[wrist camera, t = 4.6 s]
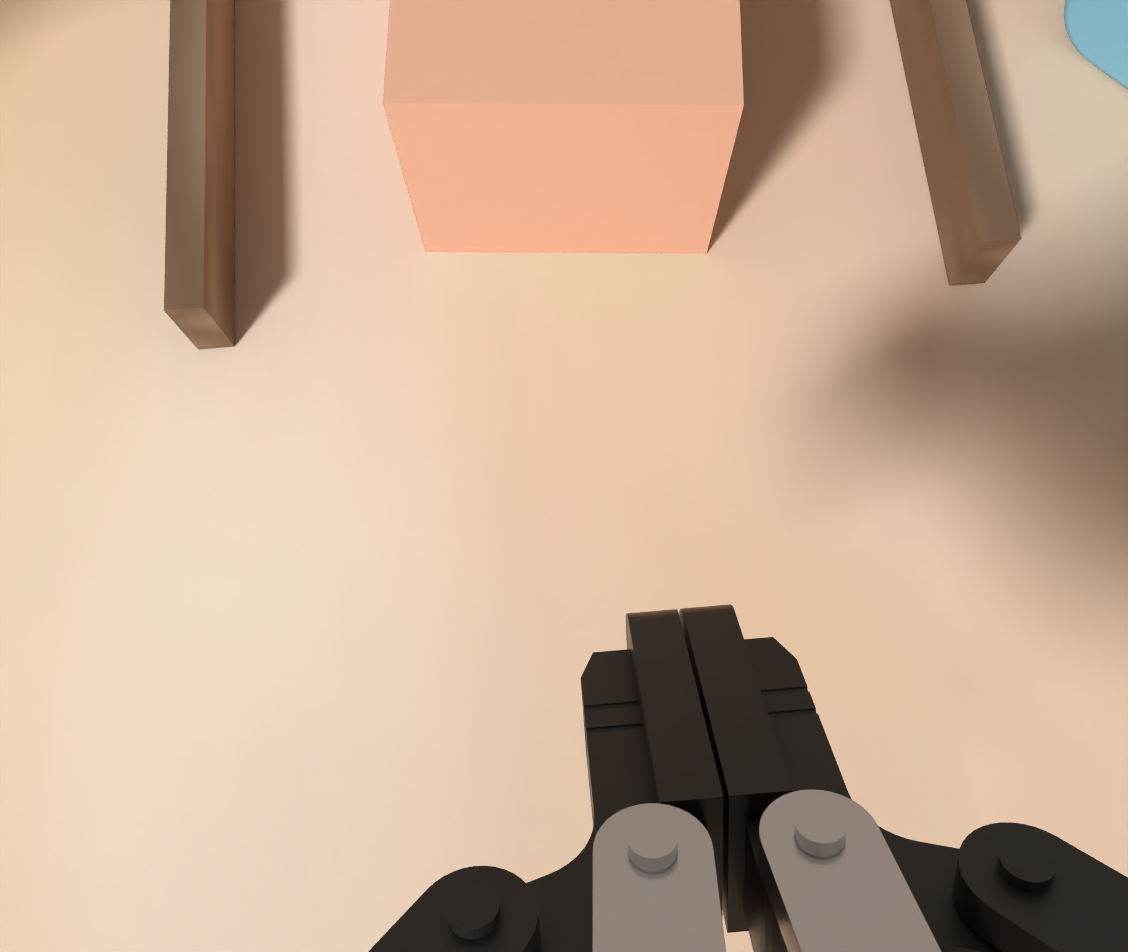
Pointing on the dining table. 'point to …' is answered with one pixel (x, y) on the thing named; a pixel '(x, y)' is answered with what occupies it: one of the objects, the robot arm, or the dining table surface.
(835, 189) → the dining table surface
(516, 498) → the dining table surface
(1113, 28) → the data package
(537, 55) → the terracotta block
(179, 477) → the dining table surface
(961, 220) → the lane rails
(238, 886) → the dining table surface
